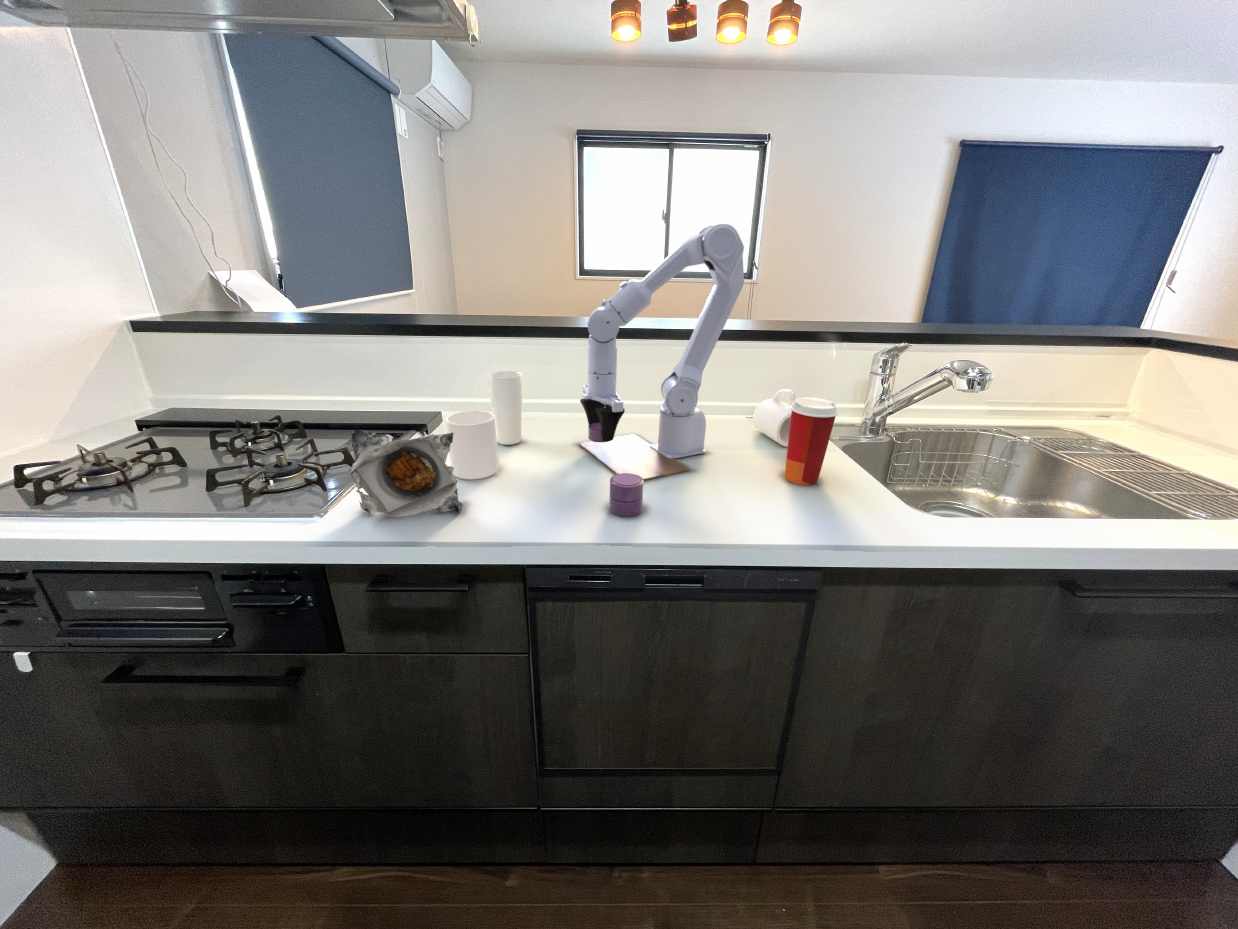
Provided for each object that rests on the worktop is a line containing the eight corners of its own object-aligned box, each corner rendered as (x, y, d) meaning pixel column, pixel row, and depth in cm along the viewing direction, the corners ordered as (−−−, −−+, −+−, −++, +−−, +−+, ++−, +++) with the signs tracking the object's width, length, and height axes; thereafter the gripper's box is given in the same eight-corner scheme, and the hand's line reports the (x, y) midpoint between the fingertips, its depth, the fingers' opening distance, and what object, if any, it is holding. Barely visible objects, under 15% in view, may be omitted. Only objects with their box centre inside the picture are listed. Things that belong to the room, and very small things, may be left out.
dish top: (606, 432, 107) (606, 420, 106) (618, 440, 103) (618, 428, 101) (584, 435, 104) (584, 423, 103) (595, 444, 100) (595, 431, 99)
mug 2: (780, 430, 119) (788, 382, 115) (806, 445, 110) (816, 393, 105) (750, 433, 117) (757, 383, 112) (774, 448, 108) (782, 395, 103)
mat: (634, 435, 114) (634, 433, 113) (690, 470, 96) (690, 468, 96) (578, 444, 107) (578, 442, 107) (628, 484, 90) (628, 482, 90)
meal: (463, 502, 82) (455, 427, 76) (459, 515, 78) (450, 437, 73) (368, 506, 80) (352, 429, 74) (358, 519, 76) (342, 439, 71)
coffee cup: (823, 473, 96) (838, 399, 90) (824, 491, 89) (841, 411, 83) (778, 467, 99) (790, 394, 93) (776, 483, 92) (789, 405, 86)
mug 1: (497, 454, 101) (493, 404, 97) (499, 478, 90) (495, 423, 86) (454, 457, 99) (448, 406, 95) (450, 482, 88) (443, 426, 84)
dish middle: (632, 484, 83) (632, 470, 82) (649, 497, 79) (649, 482, 78) (603, 490, 81) (604, 475, 80) (619, 504, 77) (619, 489, 76)
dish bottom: (631, 498, 84) (632, 484, 83) (648, 512, 80) (649, 497, 79) (603, 505, 82) (603, 490, 81) (619, 519, 78) (619, 504, 77)
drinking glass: (518, 448, 104) (514, 378, 98) (488, 445, 105) (482, 376, 100) (529, 437, 110) (526, 371, 104) (501, 434, 112) (496, 369, 106)
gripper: (569, 365, 102) (570, 427, 107) (600, 381, 90) (599, 450, 96) (599, 363, 105) (599, 423, 111) (633, 378, 93) (631, 444, 99)
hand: (601, 435), depth 103 cm, fingers closed on dish top, 5 cm apart
